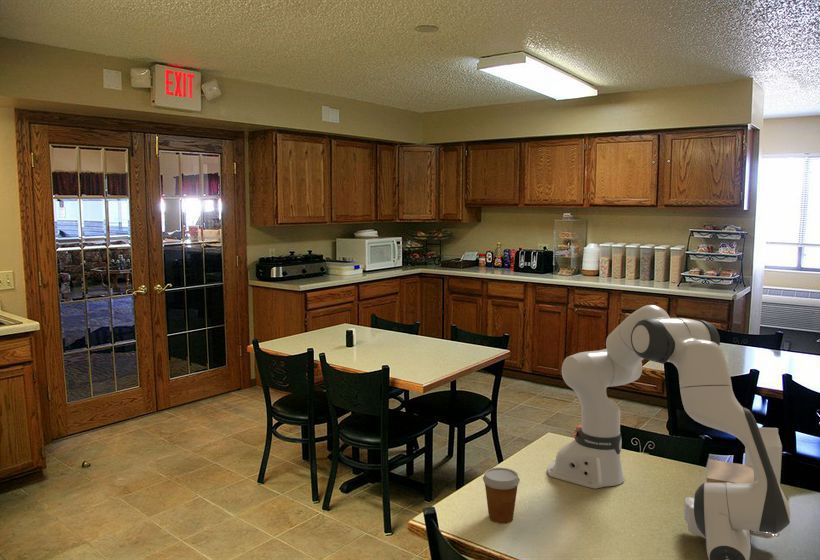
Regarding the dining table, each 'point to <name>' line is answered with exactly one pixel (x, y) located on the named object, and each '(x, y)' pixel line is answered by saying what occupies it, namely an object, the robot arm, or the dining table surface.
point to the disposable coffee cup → (501, 493)
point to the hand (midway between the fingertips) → (729, 503)
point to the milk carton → (770, 450)
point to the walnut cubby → (729, 472)
